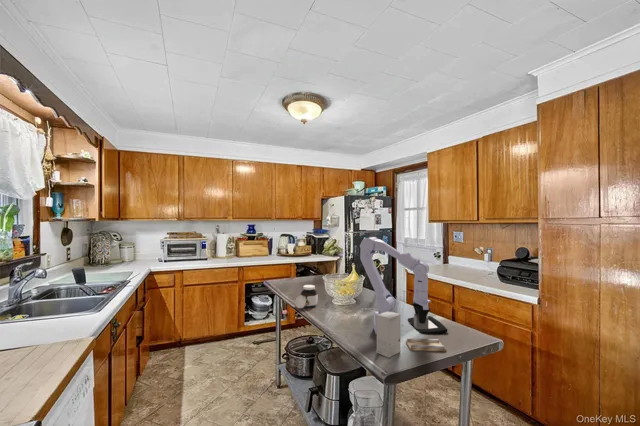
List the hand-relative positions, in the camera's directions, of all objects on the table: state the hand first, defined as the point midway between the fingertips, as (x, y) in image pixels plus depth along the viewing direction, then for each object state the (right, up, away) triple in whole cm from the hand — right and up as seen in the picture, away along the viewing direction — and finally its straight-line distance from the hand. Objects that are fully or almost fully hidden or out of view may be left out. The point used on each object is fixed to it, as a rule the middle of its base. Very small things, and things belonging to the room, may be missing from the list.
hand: (420, 321), depth 126 cm
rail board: (-1, -7, -8) cm, 11 cm away
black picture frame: (+8, -8, +14) cm, 18 cm away
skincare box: (-17, -7, -13) cm, 23 cm away
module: (0, -3, 0) cm, 3 cm away
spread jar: (-52, -8, +43) cm, 68 cm away
